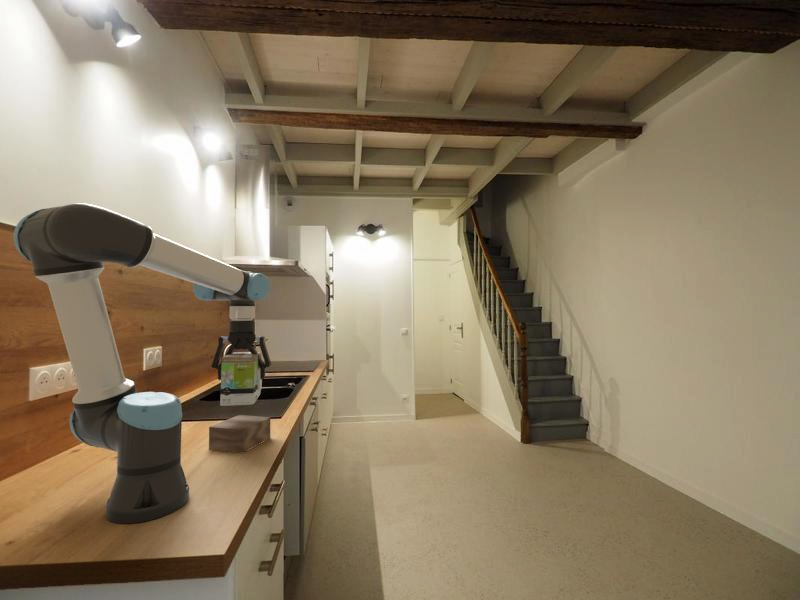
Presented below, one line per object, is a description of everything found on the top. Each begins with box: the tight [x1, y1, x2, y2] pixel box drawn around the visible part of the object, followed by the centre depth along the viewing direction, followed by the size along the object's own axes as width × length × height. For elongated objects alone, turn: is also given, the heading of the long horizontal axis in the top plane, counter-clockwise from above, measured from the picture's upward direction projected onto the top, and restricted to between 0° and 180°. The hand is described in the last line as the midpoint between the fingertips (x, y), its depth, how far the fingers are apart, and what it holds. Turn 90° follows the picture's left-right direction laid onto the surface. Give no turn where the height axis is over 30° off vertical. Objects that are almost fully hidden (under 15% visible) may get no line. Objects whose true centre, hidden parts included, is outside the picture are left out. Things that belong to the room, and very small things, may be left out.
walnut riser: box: [208, 414, 271, 453], centre depth 125 cm, size 14×12×7 cm
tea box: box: [219, 351, 262, 407], centre depth 126 cm, size 15×10×15 cm, turn 13°
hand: (241, 389), depth 125 cm, fingers closed on tea box, 10 cm apart
